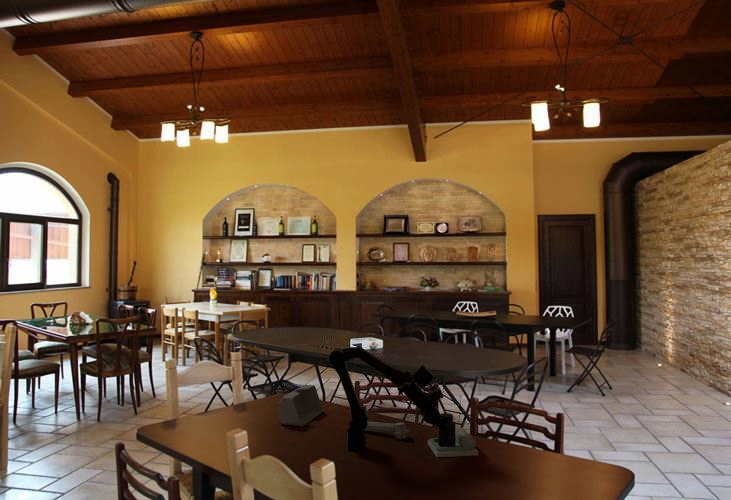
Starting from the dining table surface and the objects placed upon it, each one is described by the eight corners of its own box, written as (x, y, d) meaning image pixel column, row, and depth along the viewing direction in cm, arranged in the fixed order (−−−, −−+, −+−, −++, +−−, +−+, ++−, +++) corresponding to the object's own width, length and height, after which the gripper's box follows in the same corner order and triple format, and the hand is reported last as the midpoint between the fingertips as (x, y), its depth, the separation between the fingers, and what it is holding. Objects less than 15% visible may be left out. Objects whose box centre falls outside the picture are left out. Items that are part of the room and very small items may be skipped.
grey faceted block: (293, 408, 254) (293, 383, 255) (323, 411, 249) (323, 385, 250) (268, 423, 231) (268, 395, 231) (301, 427, 226) (301, 398, 226)
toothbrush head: (356, 418, 226) (409, 419, 214) (358, 434, 225) (411, 436, 213) (350, 422, 221) (403, 423, 209) (352, 438, 221) (405, 439, 209)
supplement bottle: (434, 444, 200) (434, 413, 201) (447, 441, 204) (447, 410, 204) (446, 450, 195) (446, 418, 195) (459, 446, 198) (459, 415, 199)
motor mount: (436, 457, 192) (436, 439, 192) (427, 443, 206) (427, 427, 206) (478, 455, 194) (478, 437, 194) (466, 442, 208) (466, 426, 208)
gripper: (432, 386, 191) (462, 417, 190) (429, 375, 210) (456, 403, 209) (411, 407, 191) (441, 438, 190) (409, 394, 210) (436, 422, 209)
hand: (444, 424), depth 200 cm, fingers open, 9 cm apart
